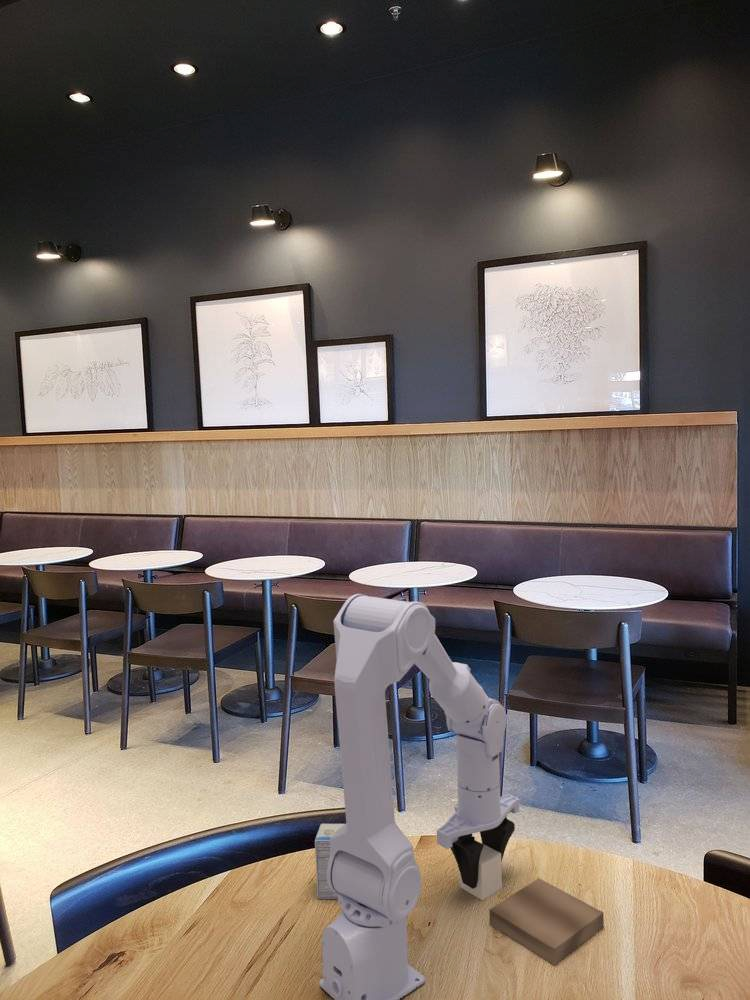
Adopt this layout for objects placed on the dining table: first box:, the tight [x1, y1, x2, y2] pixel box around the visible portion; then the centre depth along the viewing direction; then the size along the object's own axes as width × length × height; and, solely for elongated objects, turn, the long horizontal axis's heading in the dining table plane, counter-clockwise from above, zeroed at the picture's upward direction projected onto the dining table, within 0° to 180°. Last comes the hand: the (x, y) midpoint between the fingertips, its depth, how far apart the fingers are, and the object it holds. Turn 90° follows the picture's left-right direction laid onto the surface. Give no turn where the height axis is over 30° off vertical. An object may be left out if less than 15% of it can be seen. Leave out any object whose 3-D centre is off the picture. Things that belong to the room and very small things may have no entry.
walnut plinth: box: [489, 877, 605, 966], centre depth 93 cm, size 10×10×2 cm
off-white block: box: [459, 841, 503, 901], centre depth 101 cm, size 4×4×5 cm
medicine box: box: [314, 823, 345, 900], centre depth 101 cm, size 8×4×9 cm, turn 84°
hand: (480, 877), depth 101 cm, fingers closed on off-white block, 4 cm apart
